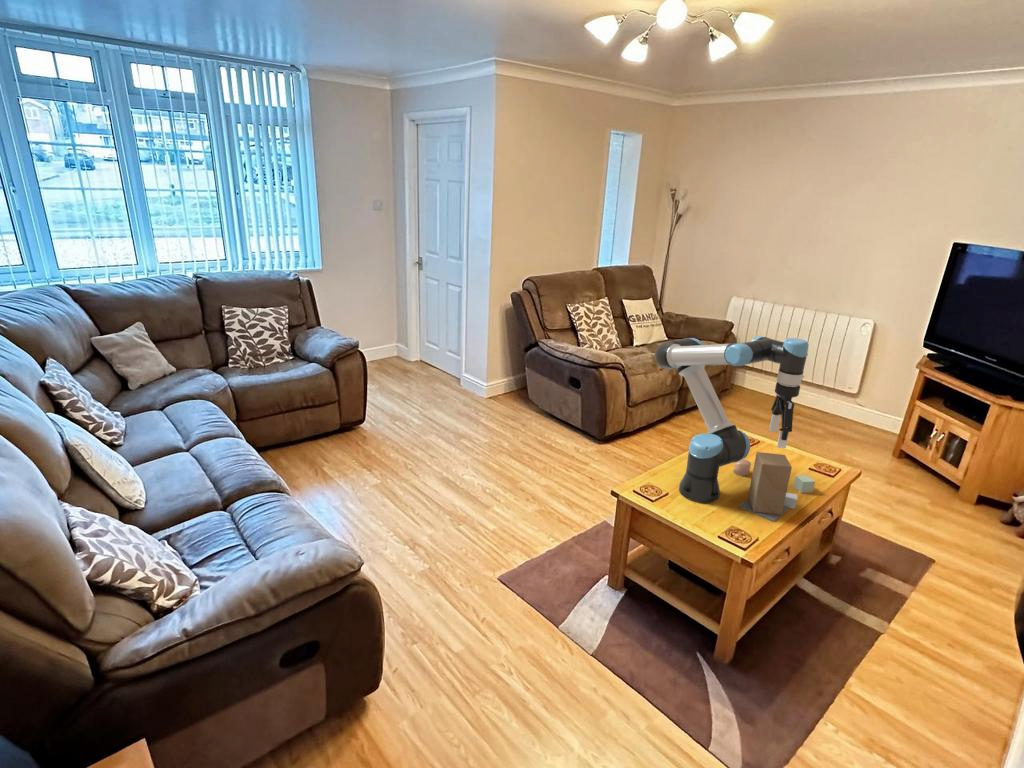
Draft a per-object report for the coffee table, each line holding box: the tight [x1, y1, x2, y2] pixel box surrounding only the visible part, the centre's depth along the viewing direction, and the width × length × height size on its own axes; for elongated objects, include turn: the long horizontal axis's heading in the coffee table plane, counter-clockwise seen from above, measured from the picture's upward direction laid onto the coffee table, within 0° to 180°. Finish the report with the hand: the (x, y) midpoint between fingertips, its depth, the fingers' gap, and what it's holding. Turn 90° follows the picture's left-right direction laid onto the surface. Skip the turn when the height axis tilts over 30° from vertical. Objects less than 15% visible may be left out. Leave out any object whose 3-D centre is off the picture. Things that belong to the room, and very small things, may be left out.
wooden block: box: [747, 451, 792, 516], centre depth 200 cm, size 10×10×20 cm
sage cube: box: [792, 474, 816, 494], centre depth 216 cm, size 5×5×5 cm
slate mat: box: [738, 498, 790, 523], centre depth 203 cm, size 13×13×1 cm
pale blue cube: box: [784, 491, 798, 510], centre depth 205 cm, size 4×4×4 cm
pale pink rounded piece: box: [733, 458, 752, 477], centre depth 228 cm, size 6×6×5 cm
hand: (777, 439), depth 194 cm, fingers open, 13 cm apart
